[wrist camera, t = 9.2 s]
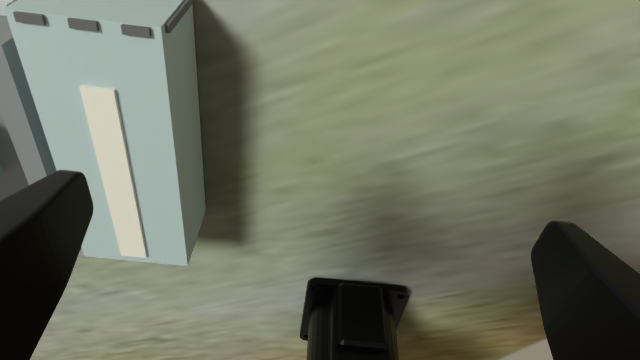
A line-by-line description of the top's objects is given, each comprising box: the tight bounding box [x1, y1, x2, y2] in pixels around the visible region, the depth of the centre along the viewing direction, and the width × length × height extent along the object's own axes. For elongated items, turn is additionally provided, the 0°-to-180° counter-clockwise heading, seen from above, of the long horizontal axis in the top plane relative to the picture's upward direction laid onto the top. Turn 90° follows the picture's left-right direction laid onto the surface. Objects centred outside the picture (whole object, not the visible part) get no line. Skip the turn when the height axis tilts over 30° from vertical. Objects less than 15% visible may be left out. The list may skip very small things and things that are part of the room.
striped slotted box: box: [4, 0, 206, 266], centre depth 20 cm, size 12×5×4 cm, turn 174°
